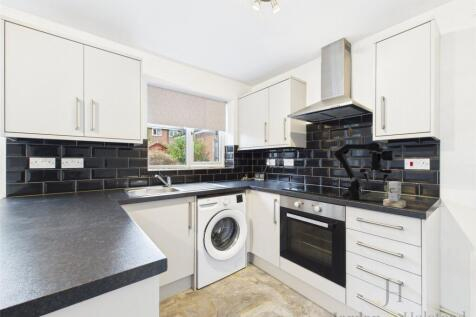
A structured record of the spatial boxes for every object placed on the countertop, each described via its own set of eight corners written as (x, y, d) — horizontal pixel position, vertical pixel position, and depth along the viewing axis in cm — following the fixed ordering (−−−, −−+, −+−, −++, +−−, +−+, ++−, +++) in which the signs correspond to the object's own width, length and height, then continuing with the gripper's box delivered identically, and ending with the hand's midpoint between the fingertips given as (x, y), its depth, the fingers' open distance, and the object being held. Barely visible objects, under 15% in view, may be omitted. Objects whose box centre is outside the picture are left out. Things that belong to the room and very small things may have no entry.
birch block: (383, 205, 134) (383, 199, 134) (386, 204, 138) (386, 198, 138) (402, 208, 126) (402, 202, 126) (405, 207, 131) (405, 200, 131)
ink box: (391, 198, 137) (392, 180, 137) (401, 199, 133) (401, 181, 133) (387, 200, 132) (388, 181, 131) (397, 201, 128) (397, 182, 128)
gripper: (395, 161, 141) (395, 184, 141) (364, 160, 155) (364, 181, 155) (391, 161, 133) (391, 185, 133) (359, 160, 148) (359, 182, 147)
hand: (376, 183), depth 142 cm, fingers open, 9 cm apart
